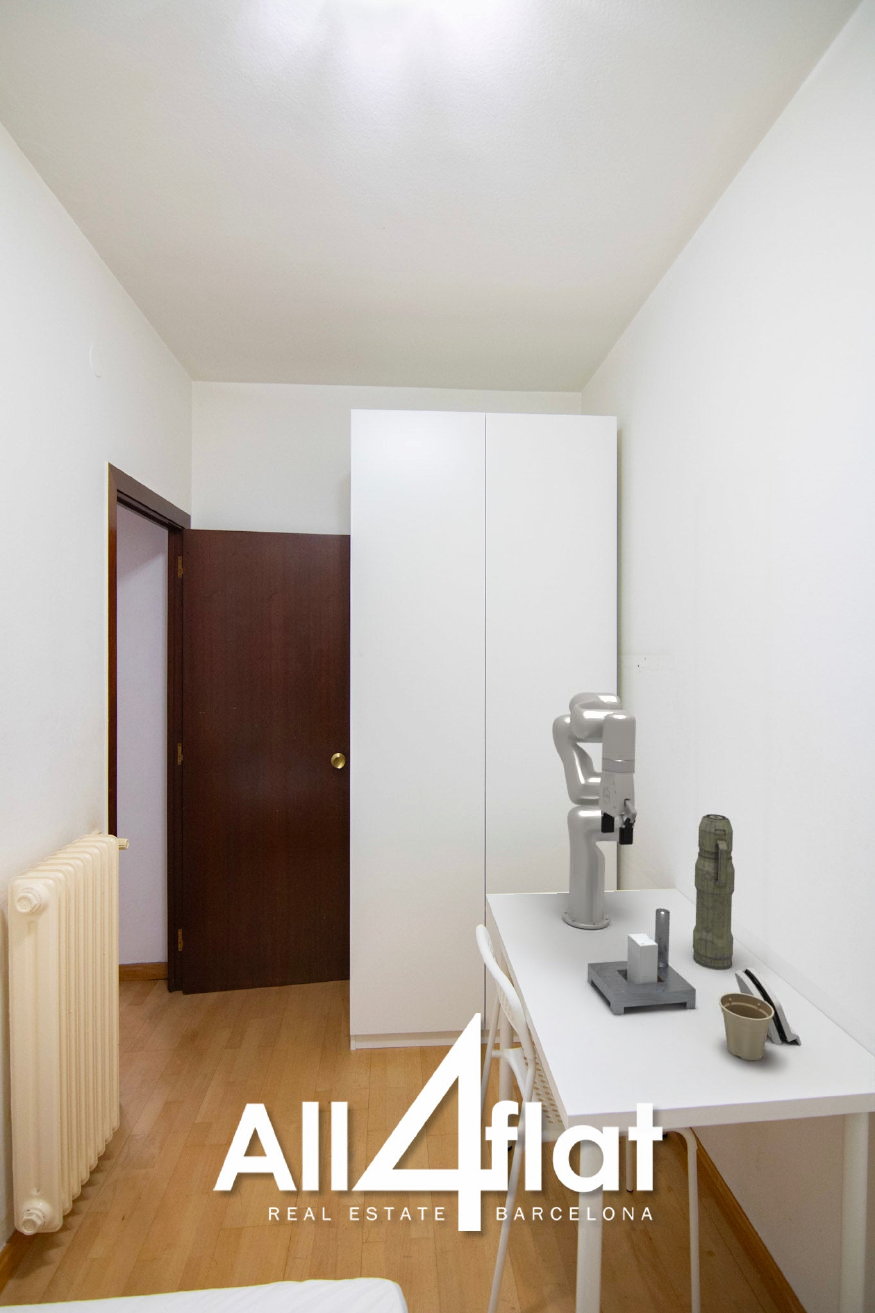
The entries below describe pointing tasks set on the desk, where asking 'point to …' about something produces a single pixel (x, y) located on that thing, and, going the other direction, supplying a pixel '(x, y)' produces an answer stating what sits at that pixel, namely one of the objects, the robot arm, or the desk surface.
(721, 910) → the thermos
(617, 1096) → the desk surface
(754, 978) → the white curved piece
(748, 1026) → the flower pot
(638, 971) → the skincare box
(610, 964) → the gray square stand
